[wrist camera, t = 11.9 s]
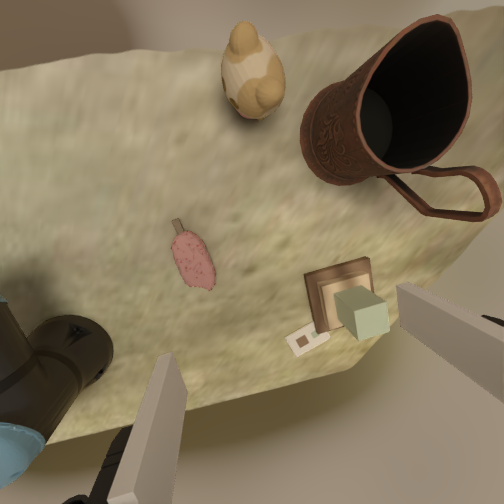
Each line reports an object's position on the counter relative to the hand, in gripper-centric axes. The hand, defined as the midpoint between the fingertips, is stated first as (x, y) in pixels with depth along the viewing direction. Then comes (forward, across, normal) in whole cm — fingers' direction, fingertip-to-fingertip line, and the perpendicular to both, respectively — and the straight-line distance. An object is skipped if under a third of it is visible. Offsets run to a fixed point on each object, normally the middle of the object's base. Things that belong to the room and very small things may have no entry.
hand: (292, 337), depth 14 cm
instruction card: (+37, +9, -27) cm, 46 cm away
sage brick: (+33, +18, -19) cm, 42 cm away
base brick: (+37, +18, -19) cm, 45 cm away
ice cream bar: (+37, -10, -2) cm, 39 cm away
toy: (+37, +7, +22) cm, 44 cm away
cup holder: (+37, +25, +10) cm, 46 cm away
